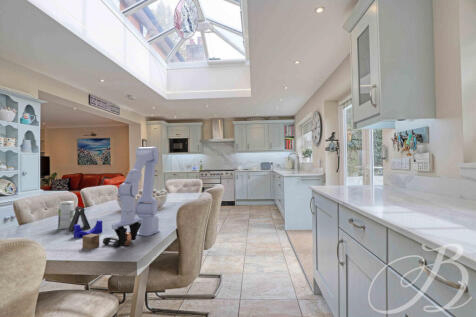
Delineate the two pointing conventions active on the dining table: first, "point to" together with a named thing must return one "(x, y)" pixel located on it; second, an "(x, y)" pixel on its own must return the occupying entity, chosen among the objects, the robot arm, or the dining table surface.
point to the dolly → (116, 243)
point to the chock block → (90, 241)
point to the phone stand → (76, 218)
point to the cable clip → (79, 233)
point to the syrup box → (65, 214)
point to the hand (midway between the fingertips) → (127, 241)
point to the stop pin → (127, 239)
